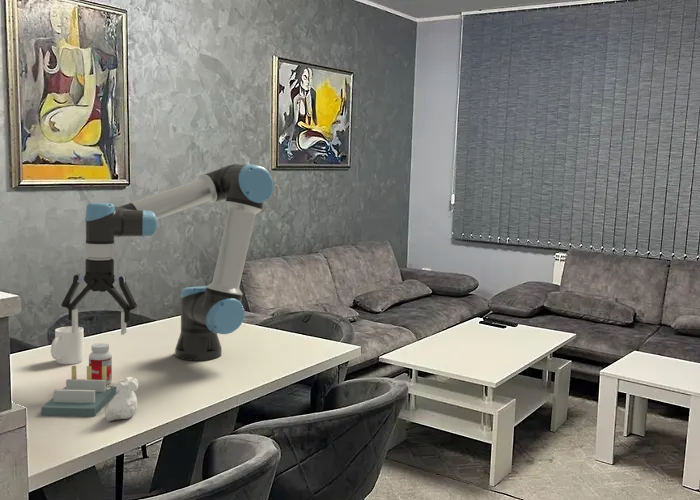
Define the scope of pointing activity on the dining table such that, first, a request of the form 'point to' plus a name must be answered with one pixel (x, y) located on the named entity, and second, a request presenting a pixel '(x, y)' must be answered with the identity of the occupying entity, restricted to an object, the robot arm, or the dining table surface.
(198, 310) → the robot arm
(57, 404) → the board
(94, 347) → the pill bottle
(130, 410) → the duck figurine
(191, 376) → the dining table surface
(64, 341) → the mug
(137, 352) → the dining table surface
